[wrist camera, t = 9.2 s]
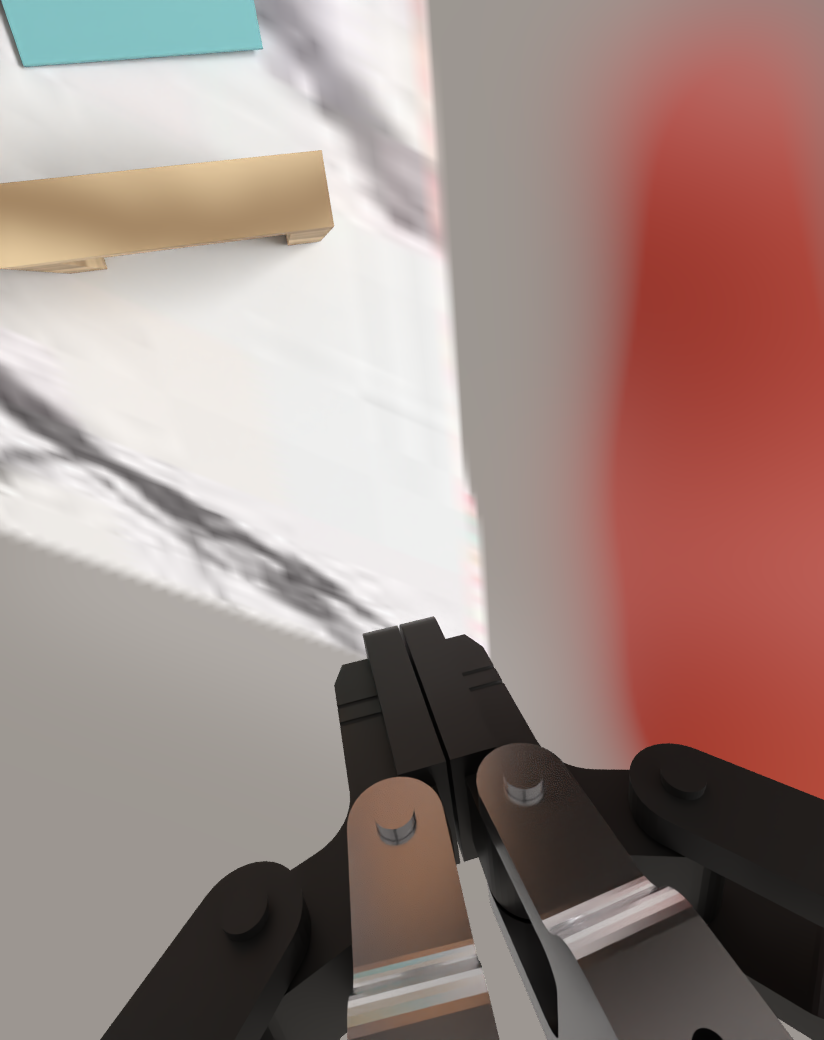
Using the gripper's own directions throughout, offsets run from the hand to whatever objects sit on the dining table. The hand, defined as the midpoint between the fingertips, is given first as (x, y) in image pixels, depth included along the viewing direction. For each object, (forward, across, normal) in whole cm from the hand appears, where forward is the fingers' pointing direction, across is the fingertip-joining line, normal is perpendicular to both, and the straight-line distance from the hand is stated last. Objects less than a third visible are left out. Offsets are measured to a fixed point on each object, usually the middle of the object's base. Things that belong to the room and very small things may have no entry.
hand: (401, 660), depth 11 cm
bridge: (+29, +5, -11) cm, 31 cm away
